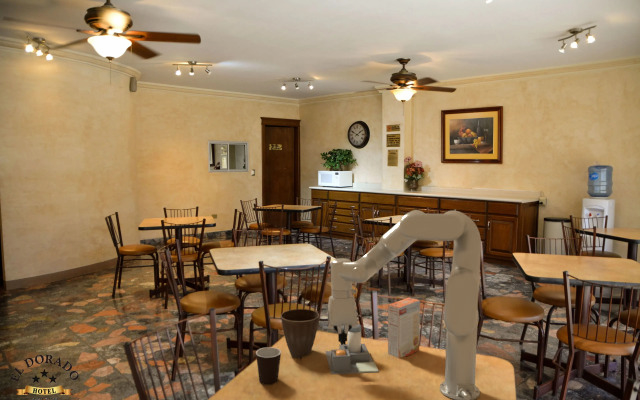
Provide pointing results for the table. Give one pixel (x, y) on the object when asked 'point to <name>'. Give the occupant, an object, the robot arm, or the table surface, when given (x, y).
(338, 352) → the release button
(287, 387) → the table surface
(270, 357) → the coffee mug
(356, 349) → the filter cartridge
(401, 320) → the cracker box
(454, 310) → the robot arm
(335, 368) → the grey compartment tray
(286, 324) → the plant pot
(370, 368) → the mat
